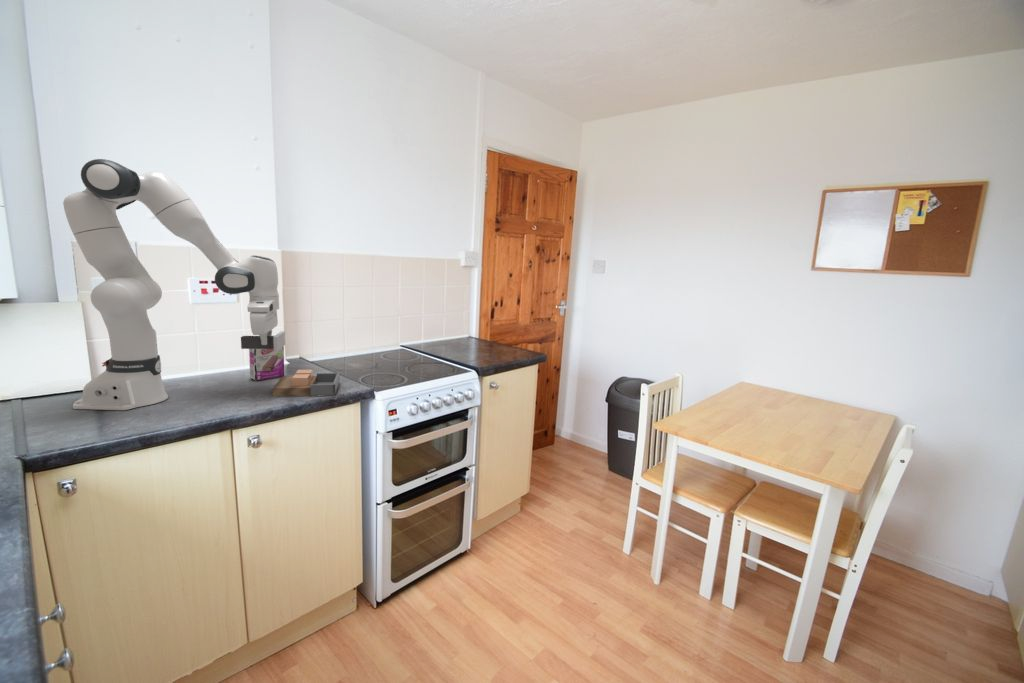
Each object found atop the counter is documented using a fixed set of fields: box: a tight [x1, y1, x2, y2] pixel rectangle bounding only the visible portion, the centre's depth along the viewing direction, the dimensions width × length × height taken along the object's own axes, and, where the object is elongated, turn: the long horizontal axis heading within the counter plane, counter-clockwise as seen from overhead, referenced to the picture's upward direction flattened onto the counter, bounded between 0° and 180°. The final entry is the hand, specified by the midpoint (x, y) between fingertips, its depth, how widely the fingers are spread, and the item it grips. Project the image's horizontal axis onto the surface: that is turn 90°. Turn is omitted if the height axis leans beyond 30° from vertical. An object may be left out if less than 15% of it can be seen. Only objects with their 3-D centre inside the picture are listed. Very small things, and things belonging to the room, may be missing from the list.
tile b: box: [294, 369, 314, 381], centre depth 163 cm, size 5×5×3 cm
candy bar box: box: [248, 334, 285, 382], centre depth 171 cm, size 11×5×16 cm, turn 144°
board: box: [272, 375, 317, 398], centre depth 160 cm, size 12×15×3 cm
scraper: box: [240, 330, 286, 352], centre depth 154 cm, size 12×12×5 cm
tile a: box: [292, 374, 310, 386], centre depth 157 cm, size 5×5×3 cm
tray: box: [310, 372, 341, 397], centre depth 163 cm, size 8×16×4 cm, turn 16°
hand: (266, 343), depth 155 cm, fingers closed on scraper, 3 cm apart
